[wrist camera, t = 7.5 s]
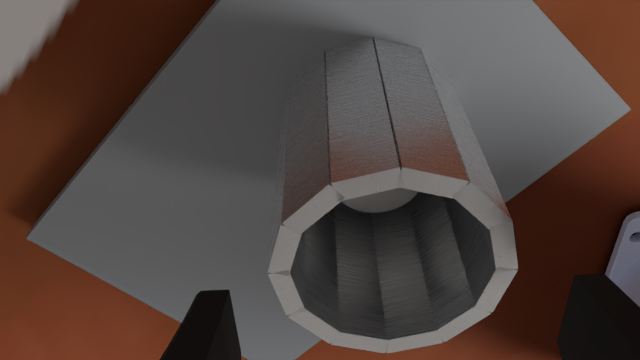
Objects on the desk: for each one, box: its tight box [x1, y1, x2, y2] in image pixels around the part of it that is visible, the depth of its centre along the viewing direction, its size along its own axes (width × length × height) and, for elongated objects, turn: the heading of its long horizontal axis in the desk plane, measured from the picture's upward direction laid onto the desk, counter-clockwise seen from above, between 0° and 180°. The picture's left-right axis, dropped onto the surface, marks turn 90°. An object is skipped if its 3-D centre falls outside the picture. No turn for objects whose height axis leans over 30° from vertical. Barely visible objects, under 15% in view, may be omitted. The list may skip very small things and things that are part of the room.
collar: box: [268, 37, 518, 353], centre depth 17 cm, size 6×6×7 cm
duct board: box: [26, 0, 631, 360], centre depth 20 cm, size 12×18×4 cm, turn 138°
